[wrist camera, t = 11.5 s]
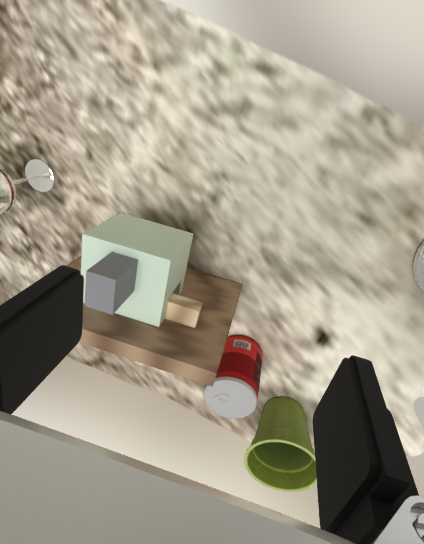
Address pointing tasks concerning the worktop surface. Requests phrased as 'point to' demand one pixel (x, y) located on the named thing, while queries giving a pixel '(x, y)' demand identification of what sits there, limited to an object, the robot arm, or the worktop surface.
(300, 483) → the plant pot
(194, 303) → the wall board
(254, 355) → the canned food
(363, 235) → the worktop surface
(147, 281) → the mint green box
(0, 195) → the wineglass
